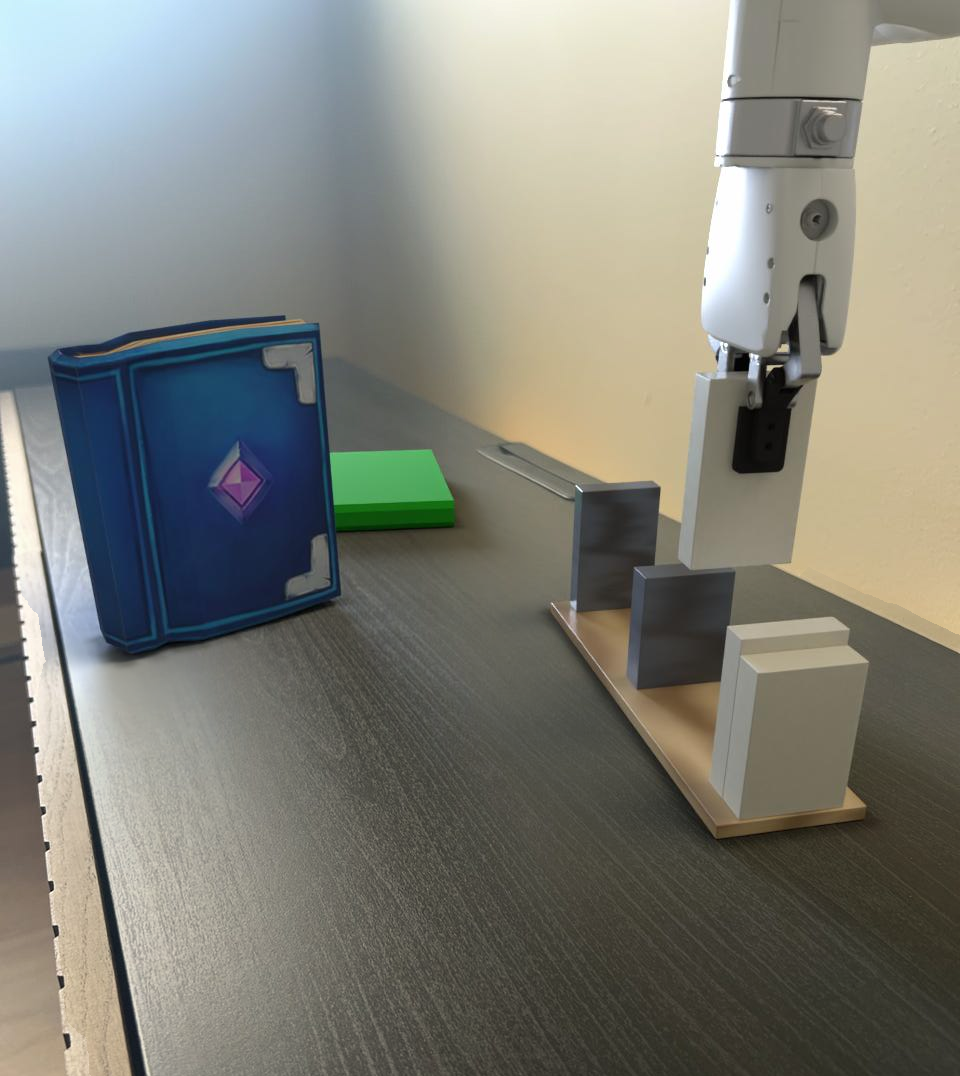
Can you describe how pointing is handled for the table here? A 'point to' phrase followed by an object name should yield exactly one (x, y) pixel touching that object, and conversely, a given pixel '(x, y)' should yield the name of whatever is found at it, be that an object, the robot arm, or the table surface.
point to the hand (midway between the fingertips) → (746, 462)
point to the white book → (739, 482)
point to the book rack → (660, 645)
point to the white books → (786, 717)
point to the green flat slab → (389, 490)
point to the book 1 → (200, 476)
